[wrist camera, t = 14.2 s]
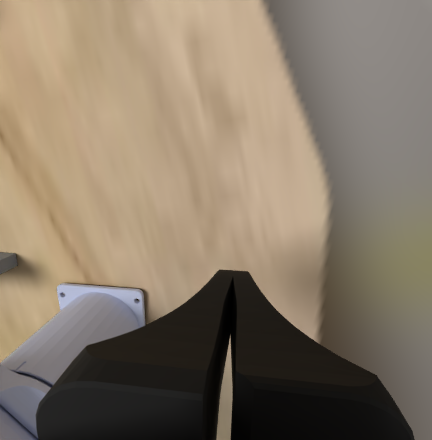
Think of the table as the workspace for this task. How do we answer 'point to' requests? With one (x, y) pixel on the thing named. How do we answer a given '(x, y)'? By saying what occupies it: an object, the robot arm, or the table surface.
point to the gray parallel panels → (7, 261)
